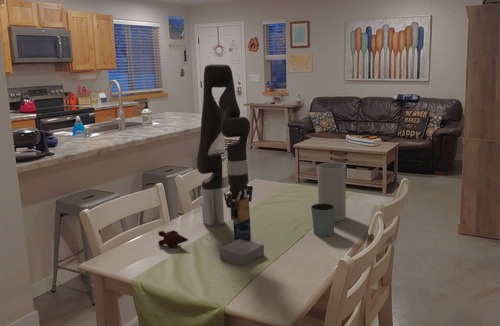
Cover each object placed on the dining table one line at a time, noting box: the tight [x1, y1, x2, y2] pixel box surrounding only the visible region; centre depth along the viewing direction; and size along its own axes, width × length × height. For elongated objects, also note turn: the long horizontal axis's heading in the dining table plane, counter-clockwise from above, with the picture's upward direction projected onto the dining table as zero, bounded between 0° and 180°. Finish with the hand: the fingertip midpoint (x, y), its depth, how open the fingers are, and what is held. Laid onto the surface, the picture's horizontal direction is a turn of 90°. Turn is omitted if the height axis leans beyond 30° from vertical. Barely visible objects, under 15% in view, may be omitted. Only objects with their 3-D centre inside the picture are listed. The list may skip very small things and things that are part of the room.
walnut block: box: [229, 197, 251, 222], centre depth 175 cm, size 5×5×8 cm
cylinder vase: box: [317, 162, 347, 223], centre depth 215 cm, size 12×12×25 cm
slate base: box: [218, 239, 265, 267], centre depth 179 cm, size 12×12×4 cm
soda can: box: [232, 218, 252, 241], centre depth 193 cm, size 7×7×12 cm
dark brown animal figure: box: [157, 230, 189, 248], centre depth 191 cm, size 7×7×15 cm
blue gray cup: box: [310, 202, 336, 238], centre depth 198 cm, size 10×10×12 cm
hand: (240, 215), depth 176 cm, fingers closed on walnut block, 5 cm apart
